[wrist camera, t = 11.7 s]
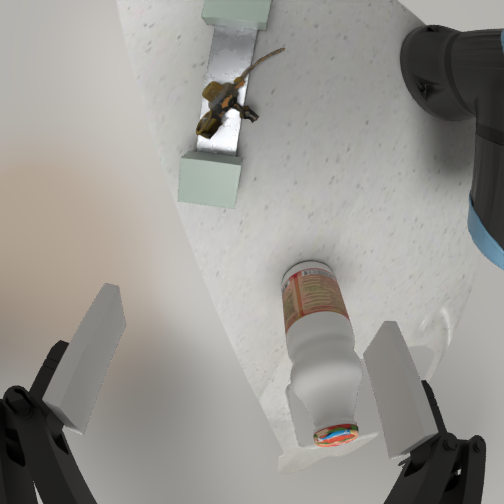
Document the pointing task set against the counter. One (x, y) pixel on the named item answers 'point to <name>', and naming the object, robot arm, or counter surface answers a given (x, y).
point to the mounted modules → (207, 164)
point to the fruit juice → (321, 351)
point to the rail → (226, 70)
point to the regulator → (225, 102)
